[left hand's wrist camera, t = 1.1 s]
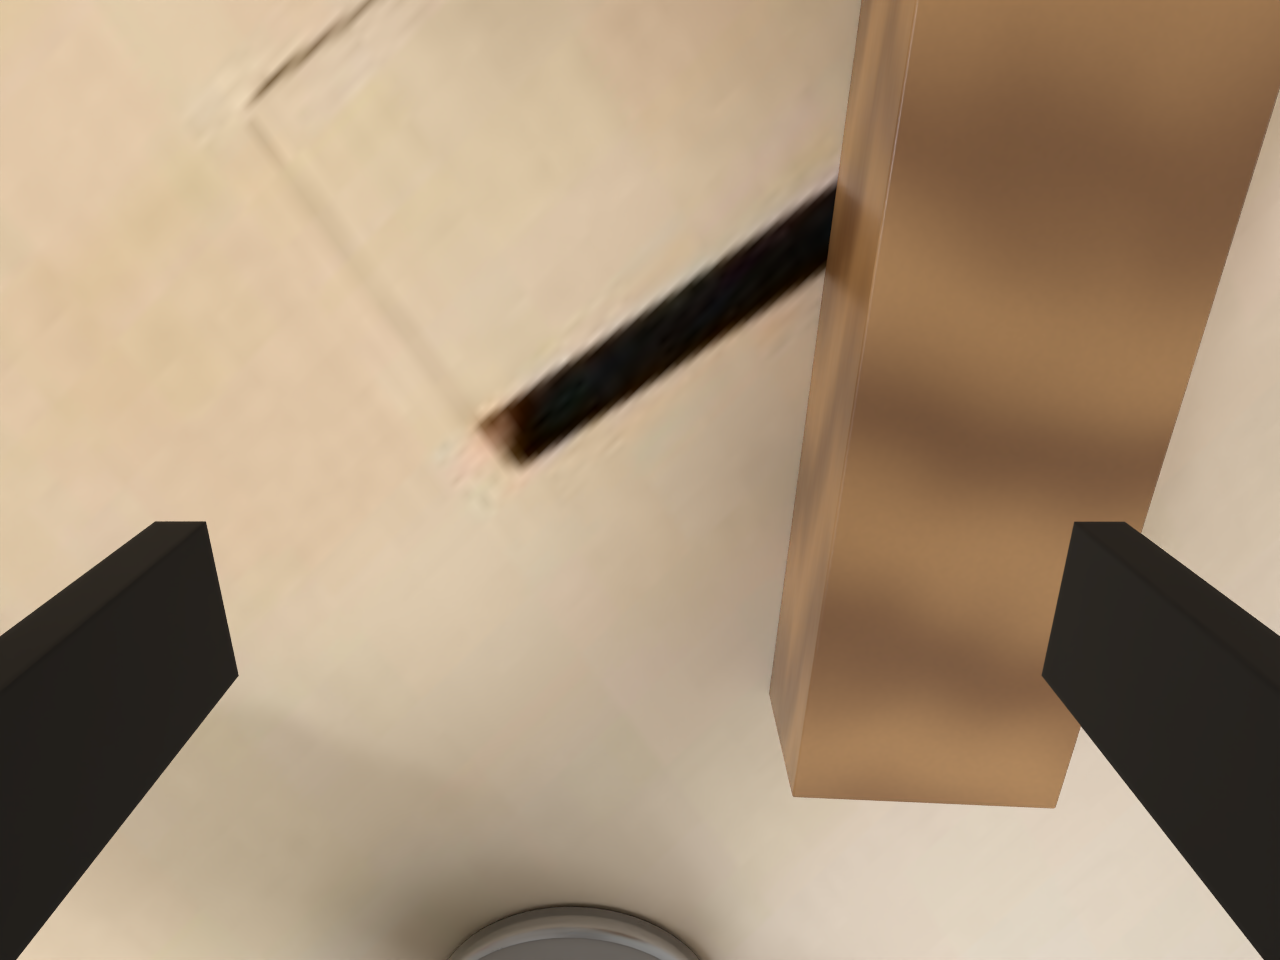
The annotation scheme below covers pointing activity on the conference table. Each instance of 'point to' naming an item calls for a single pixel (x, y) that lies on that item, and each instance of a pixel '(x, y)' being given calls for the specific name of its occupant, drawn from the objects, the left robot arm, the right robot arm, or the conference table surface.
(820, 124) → the conference table surface
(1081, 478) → the long beam
